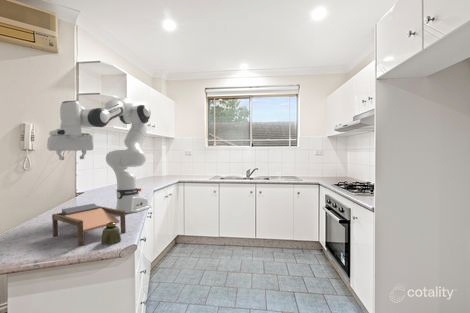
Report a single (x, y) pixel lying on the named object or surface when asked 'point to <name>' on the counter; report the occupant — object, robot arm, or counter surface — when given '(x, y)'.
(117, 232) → the bronze rounded piece
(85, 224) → the trapdoor
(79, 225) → the frame
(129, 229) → the counter surface
